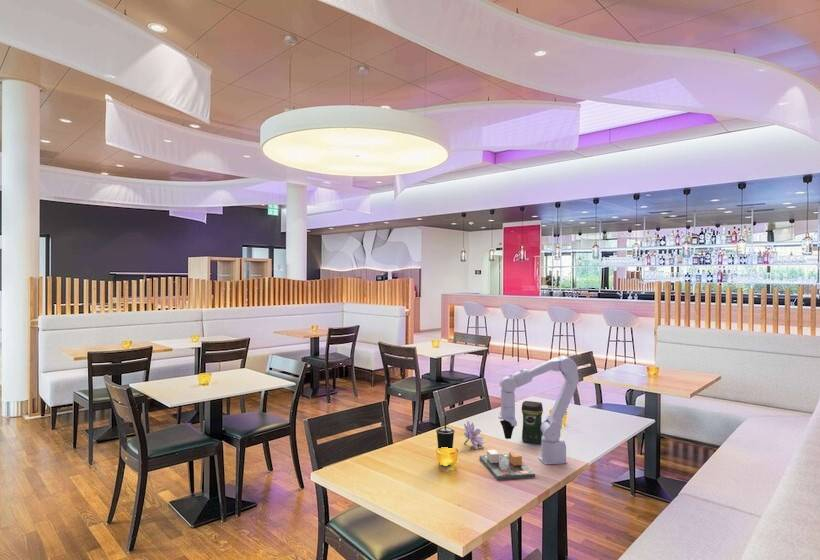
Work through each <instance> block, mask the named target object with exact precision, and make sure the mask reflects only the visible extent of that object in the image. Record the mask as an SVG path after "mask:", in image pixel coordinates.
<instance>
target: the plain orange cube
mask: <svg viewBox="0 0 820 560" xmlns="http://www.w3.org/2000/svg"><path fill="white" fill-rule="evenodd" d="M508 454H509V462H510V463H511V464H513V465H514V466H515V465H522V462H523V455H521V454H520V453H519V452H518V451H511V452H508Z"/></svg>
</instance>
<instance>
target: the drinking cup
mask: <svg viewBox="0 0 820 560" xmlns="http://www.w3.org/2000/svg"><path fill="white" fill-rule="evenodd" d="M443 424H444V426H443V427H440V428H437V429H436V430H435V432H436V440H437V449H438V448H441V447H448V448H454V438H455V437H454V435H455V429H453V428H451V427H447V415H446V414H444V423H443Z"/></svg>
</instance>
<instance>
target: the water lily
mask: <svg viewBox="0 0 820 560" xmlns="http://www.w3.org/2000/svg"><path fill="white" fill-rule="evenodd" d="M463 426H464V430H465V432H463V435H464V437H465V438H466V440H465V441H464V443H463V444H464V445H466V443H468V441H470V442H471V444H472V446H473V448H474V449H475V450H476V451H478V450H477V449H479V448H478V445H480V446H482V447H485V445H484V444H485V443H484V442H485V441H484V440H485V438H484V437H483V436H478V435H480V434H481V432H482V430H481V429H480V428H475V425H474V422H473V421H472V422H471V423H470V422H469V420H467V421H466V424H465V423H463ZM482 443H484V444H482ZM477 444H478V445H477Z"/></svg>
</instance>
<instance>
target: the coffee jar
mask: <svg viewBox="0 0 820 560" xmlns="http://www.w3.org/2000/svg"><path fill="white" fill-rule="evenodd" d="M520 411H521V414H522V429H521V430H522V432H521V440H522V441H523V442H524V443H529V444H542V436H543V433H542V431H541V424H542V423H543V421H542V415H543V413H544V408H543V404H542V402H539V401H532V400H531V401H530V400H525V401H523V402H522V404H521V410H520Z"/></svg>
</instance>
